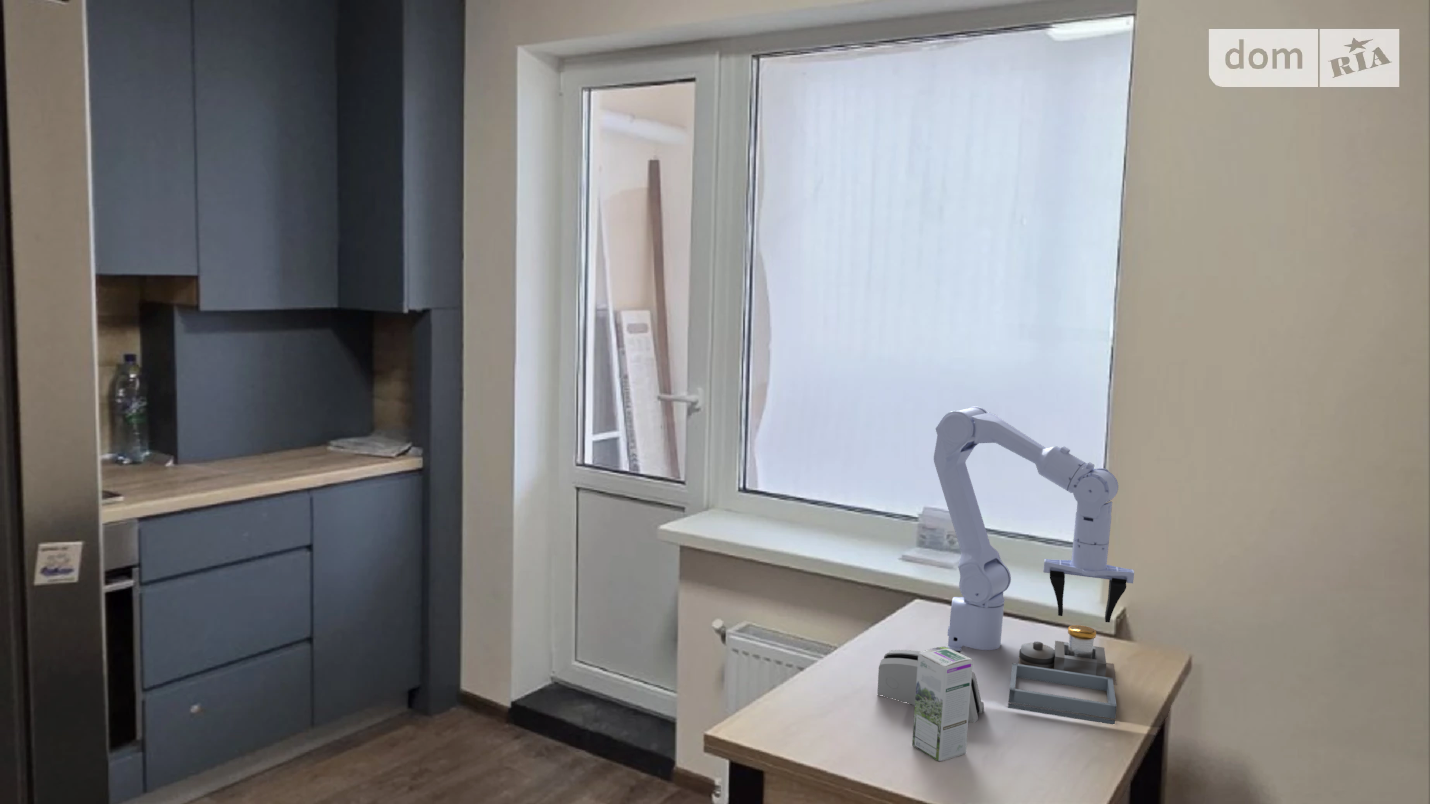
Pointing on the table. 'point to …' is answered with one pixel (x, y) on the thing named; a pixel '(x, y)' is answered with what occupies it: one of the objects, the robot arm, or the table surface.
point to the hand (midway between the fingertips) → (1083, 617)
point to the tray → (1062, 701)
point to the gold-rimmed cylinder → (1081, 641)
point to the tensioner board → (1066, 659)
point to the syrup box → (942, 703)
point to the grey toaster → (913, 680)
